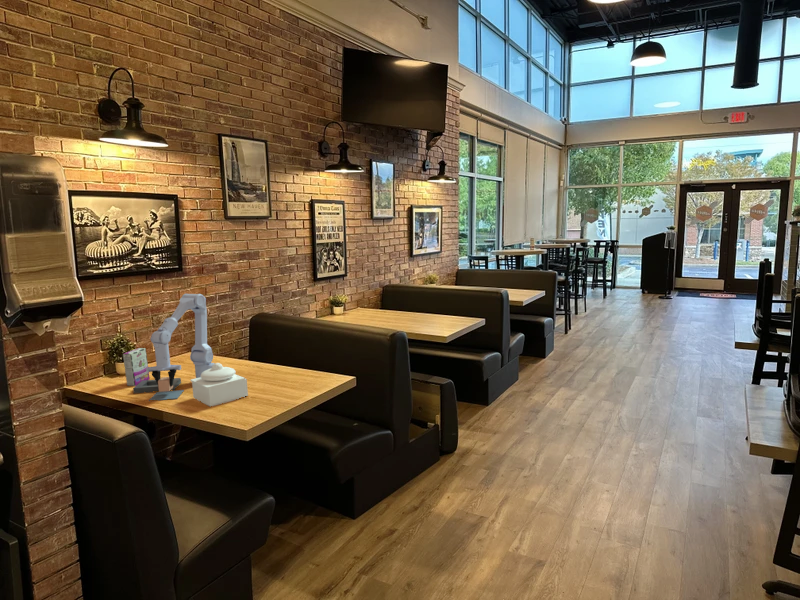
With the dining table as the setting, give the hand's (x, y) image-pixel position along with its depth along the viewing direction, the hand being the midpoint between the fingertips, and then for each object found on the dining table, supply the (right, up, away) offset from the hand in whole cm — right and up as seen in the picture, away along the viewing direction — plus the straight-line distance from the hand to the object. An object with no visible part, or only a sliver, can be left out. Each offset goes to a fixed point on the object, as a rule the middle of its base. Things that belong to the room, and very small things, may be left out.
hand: (165, 386), depth 241 cm
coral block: (0, -2, 0) cm, 2 cm away
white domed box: (+26, -5, -4) cm, 27 cm away
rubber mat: (0, -5, +1) cm, 5 cm away
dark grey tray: (-10, -3, +13) cm, 17 cm away
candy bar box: (-24, -2, +24) cm, 34 cm away
